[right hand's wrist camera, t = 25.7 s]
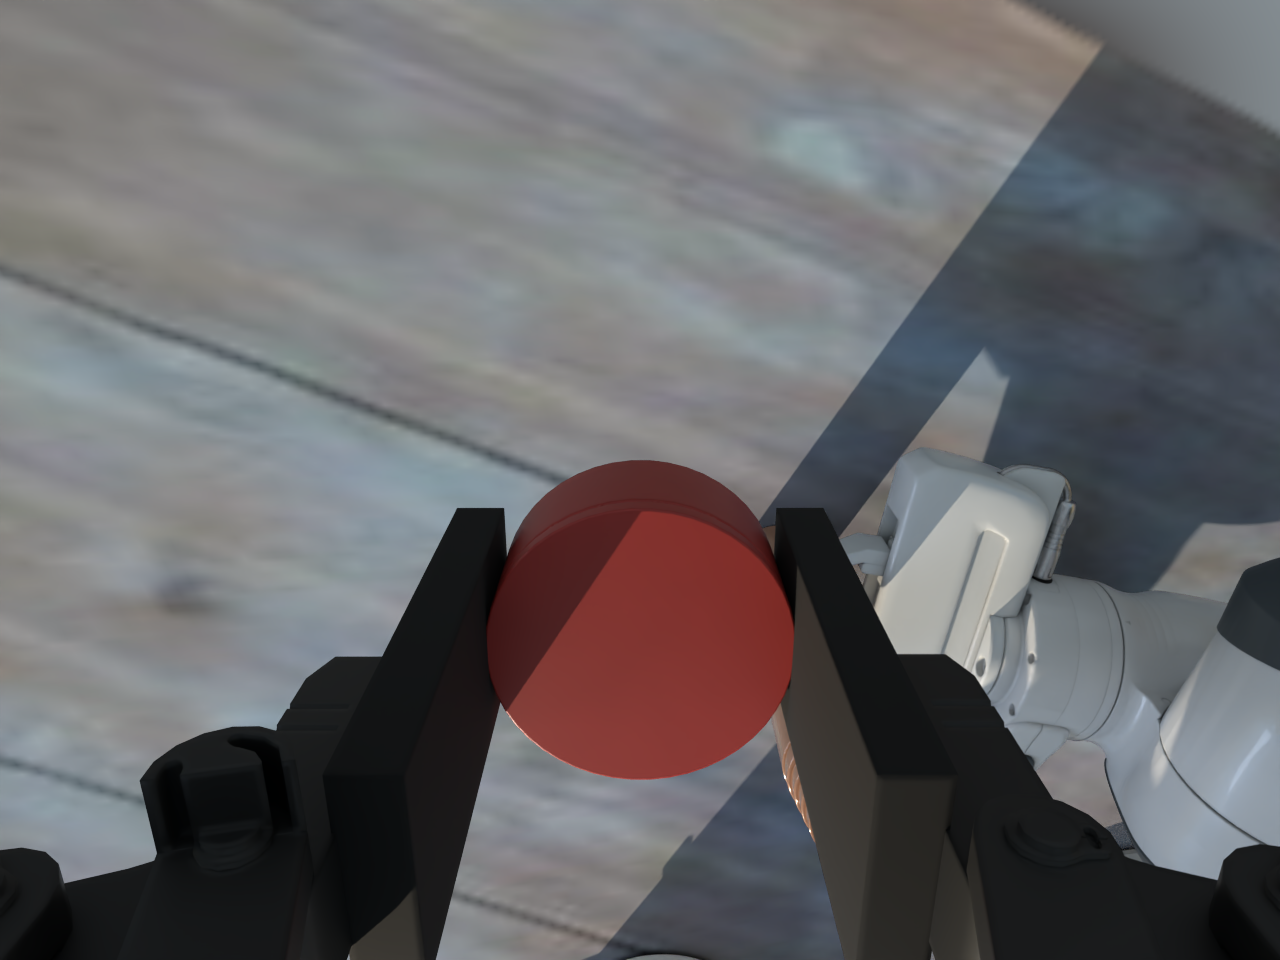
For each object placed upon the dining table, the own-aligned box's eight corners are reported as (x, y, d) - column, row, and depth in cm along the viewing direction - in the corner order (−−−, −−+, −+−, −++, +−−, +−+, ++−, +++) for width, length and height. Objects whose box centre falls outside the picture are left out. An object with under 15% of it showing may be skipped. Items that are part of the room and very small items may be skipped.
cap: (605, 742, 16) (600, 826, 14) (450, 552, 14) (420, 615, 13) (825, 619, 15) (853, 690, 13) (681, 404, 14) (688, 447, 12)
